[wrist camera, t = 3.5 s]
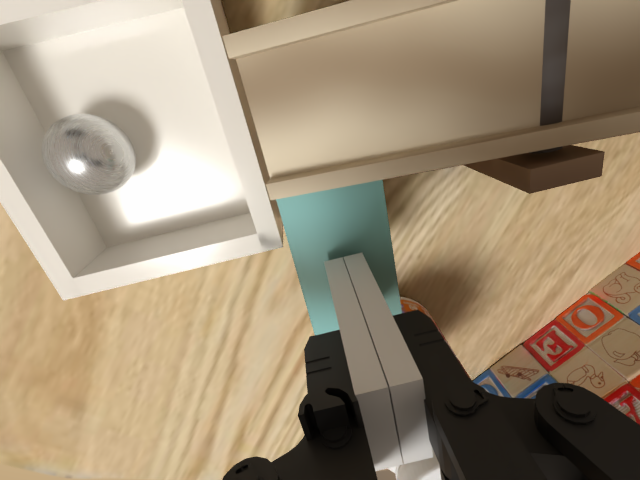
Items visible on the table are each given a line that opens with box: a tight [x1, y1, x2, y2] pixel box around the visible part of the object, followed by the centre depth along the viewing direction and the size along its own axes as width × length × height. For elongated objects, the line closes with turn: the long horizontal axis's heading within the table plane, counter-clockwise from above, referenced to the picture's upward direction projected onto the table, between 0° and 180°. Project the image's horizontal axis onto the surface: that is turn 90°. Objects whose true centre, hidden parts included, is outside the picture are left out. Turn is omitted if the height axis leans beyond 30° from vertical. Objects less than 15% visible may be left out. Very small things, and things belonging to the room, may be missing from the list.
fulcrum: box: [464, 145, 604, 194], centre depth 14 cm, size 9×5×9 cm, turn 12°
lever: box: [222, 0, 640, 335], centre depth 11 cm, size 12×19×3 cm, turn 102°
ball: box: [42, 114, 136, 195], centre depth 16 cm, size 4×4×4 cm
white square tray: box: [0, 0, 283, 300], centre depth 16 cm, size 12×11×4 cm
